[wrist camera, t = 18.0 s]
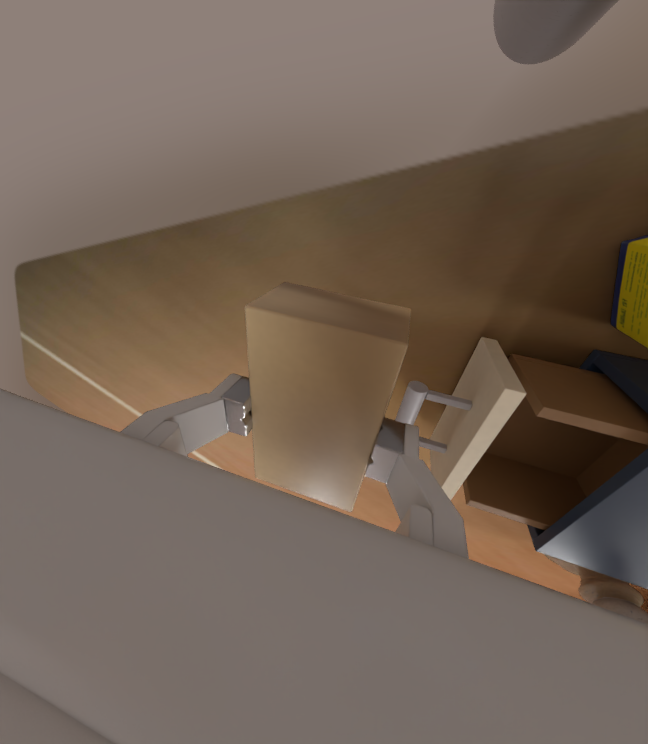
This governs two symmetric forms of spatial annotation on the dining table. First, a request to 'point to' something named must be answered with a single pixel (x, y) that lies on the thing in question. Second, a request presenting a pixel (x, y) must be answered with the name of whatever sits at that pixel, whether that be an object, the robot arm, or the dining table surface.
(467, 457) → the drawer
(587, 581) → the candle holder
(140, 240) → the dining table surface
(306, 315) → the wooden rectangular block
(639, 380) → the cabinet
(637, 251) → the supplement box
